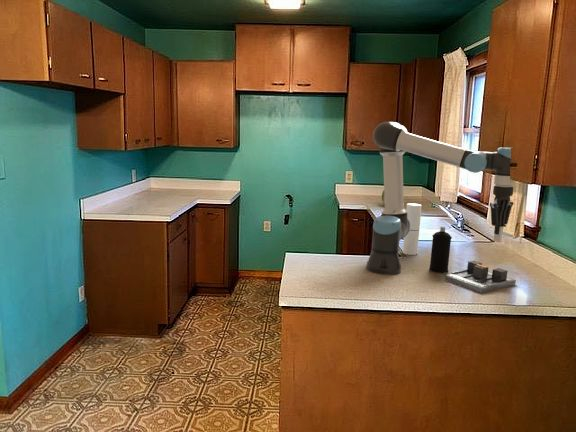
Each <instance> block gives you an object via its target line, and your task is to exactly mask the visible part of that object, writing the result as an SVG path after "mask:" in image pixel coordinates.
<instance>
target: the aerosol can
mask: <svg viewBox="0 0 576 432" xmlns="http://www.w3.org/2000/svg"><path fill="white" fill-rule="evenodd" d="M431 237H432V241H431V242H432V243H431V253H430V262H429V268H428V270H429V271H430V272H432V273H436V274H448V273H449V261H450V253H451V243H452V235H450V234H449V233H448V232H446V227H445V226H440V230H439V231H436V232H435V233H433V234H432V236H431Z"/></svg>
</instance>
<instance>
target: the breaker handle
mask: <svg viewBox="0 0 576 432" xmlns="http://www.w3.org/2000/svg"><path fill="white" fill-rule="evenodd" d="M488 272H489V266H486V265H483V264H482V265H479V264H477V265H476V266H474V271H473V276H474V277H477V278H480V279H484V278H487V276H488Z"/></svg>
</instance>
